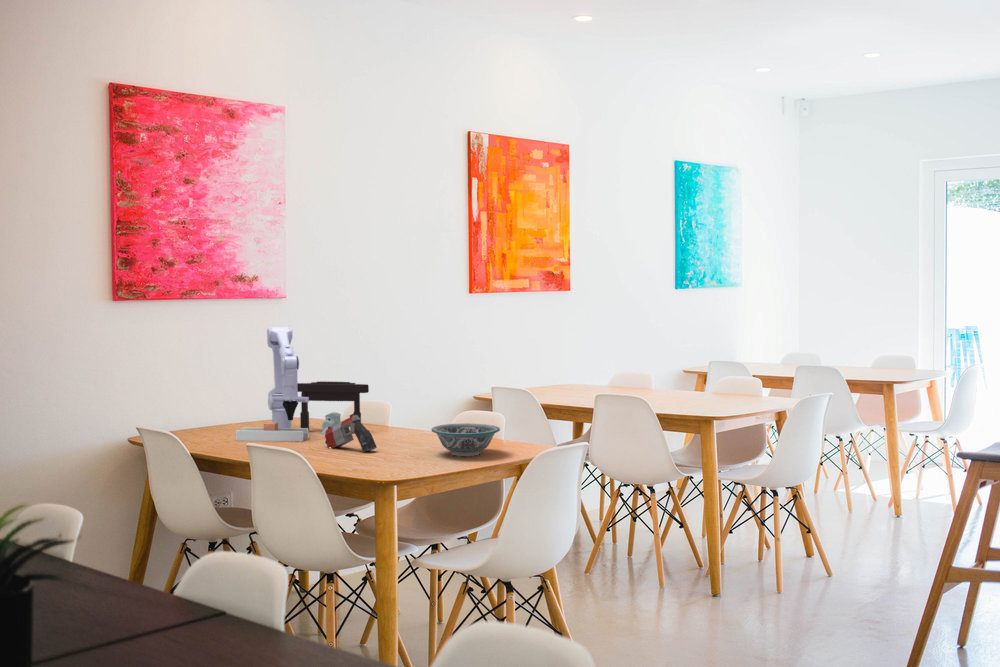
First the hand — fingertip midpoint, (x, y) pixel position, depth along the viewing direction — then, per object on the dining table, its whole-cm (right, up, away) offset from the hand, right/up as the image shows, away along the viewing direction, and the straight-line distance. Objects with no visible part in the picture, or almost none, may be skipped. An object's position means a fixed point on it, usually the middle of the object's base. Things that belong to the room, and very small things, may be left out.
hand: (290, 420), depth 384 cm
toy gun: (+27, -9, -22) cm, 36 cm away
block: (-8, -6, +1) cm, 10 cm away
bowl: (+71, -10, -31) cm, 78 cm away
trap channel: (-8, -8, +1) cm, 11 cm away
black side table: (+12, -7, +21) cm, 25 cm away
